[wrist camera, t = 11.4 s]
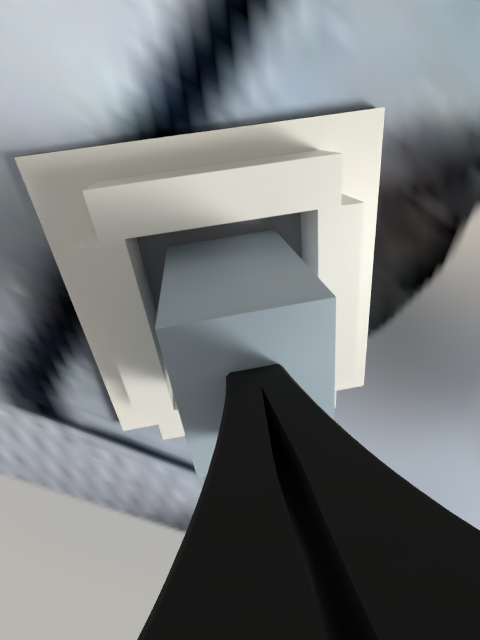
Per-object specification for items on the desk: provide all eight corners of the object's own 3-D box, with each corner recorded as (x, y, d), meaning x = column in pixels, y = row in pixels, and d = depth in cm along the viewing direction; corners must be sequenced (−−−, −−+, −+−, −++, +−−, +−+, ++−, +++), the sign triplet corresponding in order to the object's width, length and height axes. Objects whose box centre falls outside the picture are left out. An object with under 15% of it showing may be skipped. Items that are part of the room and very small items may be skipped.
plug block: (282, 341, 15) (333, 450, 10) (193, 357, 15) (197, 478, 10) (274, 229, 13) (336, 297, 8) (167, 246, 13) (155, 328, 7)
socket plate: (359, 379, 18) (383, 413, 16) (125, 423, 17) (116, 466, 15) (377, 108, 12) (420, 103, 10) (20, 156, 11) (-19, 162, 9)
